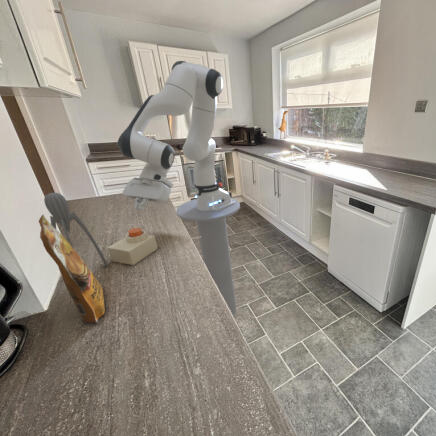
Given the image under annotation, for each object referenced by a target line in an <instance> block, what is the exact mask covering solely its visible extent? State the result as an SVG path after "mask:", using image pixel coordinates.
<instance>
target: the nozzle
mask: <svg viewBox="0 0 436 436" xmlns="http://www.w3.org/2000/svg"><path fill="white" fill-rule="evenodd" d="M142 230H143V229H142V228H141V227H133V228H131V229H128V230H127V233H129V236H130V237H137V236H140V235H142V234H143V233H142Z"/></svg>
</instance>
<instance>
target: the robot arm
mask: <svg viewBox="0 0 436 436" xmlns="http://www.w3.org/2000/svg"><path fill="white" fill-rule="evenodd" d="M170 70H171V71H170V73H169V75H168V76H167V79H166V81H165V82H164V84H163V87H162V89H161V90H160V91H159V92H158V93H155V94H150V95H149V96H148V97H147V98H146V99H145V100H144V102H143V103H142V104H141V106H140V107H139V109H138V111H137V112H136V114H135V115H134V117H133V118H132V120H131V121H130V123H129V124H128V126H127V127H126V129H124V131H122V133H121V134H120V136H119V137H118V140H117V143H116V144H117V147H118V150H119V151H120V153H121V154H122V155H123V156H124V157H127V158H129V159H133V160H138V161H141V162H144V163H146V164H145V166H144V167H143V169H142V170H141V172H140V175H139V177H137V176H136V177H134V178H132V179H130V180H129V181H128V182H127V184H126V185H125V187H124V188H123V190H122V196H124V197H126V198H127V199H132V200H134V203H135V204H134V206H133V208H134V209H135V210H138V211H144V210H145V207H146V206H148V205H149V204H150V202H156V203H162V204H165V203H166V202H168V200H169V198H170V195H171V192H172V189H173V187H174V183H173V182H172V181H171V180H170V179H167V176H168V175H167V174H168V172H169V171H170V169H171V167H172V166H173V163H174V161H175V159H176V157H175V156H176V152H175V149H174V147H173V146H171V145H170V144H169V143H167V142H163V141H160V140H158V139H154V138H151V137H149V136H147V135H144V134H143V132H144V131H145V130H146V128H147V126H148V125H149V123H150V122H151V120H152V119H153V118H155V117H158V116H172V117H177V116H178V117H179V116H183V115H186V114H187V113H188V112H189V111H190V109H191V117H190V118H191V119H190V125H189V129H188V132H187V136H186V140H185V142H184V144H183V145H182V153H183V156H184V157H185V158H186V159H187V160H189V161H191V162H194V164H193V169H192V173H193V178H194V191H195V196H194V199H197V206H196V209H197V210H200V211H219V210H221V209H224V208H226V207H228V206H231V205H233V204H235V201H234V200H233V199H234V198H233V199H231V198H232V197H233V196H232V195H233V194H232V192H230V191H227V190H225V189H223V188H222V187H223V183H222V182H217V179H216V172H215V160H216V159H215V158H216V148H217V145H216V141H215V140H214V139H213V138H212V134H213V131H214V129H215V123H216V115H217V97H218V96H219V95H220V94H221V93H222V91H223V87H224V79H223V76H222V74H221V72H220V71H217V70H216V69H214V68H210V67H207V66H205V65H203V64H199V63H193V62H187V61H185V60H176V61H175V62H174V63H173V65H172V67H171V69H170Z"/></svg>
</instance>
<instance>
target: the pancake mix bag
mask: <svg viewBox="0 0 436 436" xmlns="http://www.w3.org/2000/svg"><path fill="white" fill-rule="evenodd" d="M38 223H39V226H40V232H39V233H40V234H39V238H40V240H41V242H42V245H43V248H44V249H45V251H46V253H47V254H48V255H49V257H51V259H52V260H53V261H54V263H55V264H56V265H57V267H58V270H59V272H60V275H61V277H62V281H63V283H64V285H65V287H66V289H67V291H68V293H69V295H70V297H71V299H72V301H73V302H74V304H75V306H76V309H77V311H78V312H79V314H80V315H81V317H82V319H83V321H84V322H86V323H89V324H98V322H99V319H100V318H101V317H103V316H104V315H105V313H106V308H105V298H104V290H103V288H102V285H101V284H100V282H99V281H98V279H97V278H96V276H95V275H94V273H93V271H92V270H91V269H90V268H89V266H88V265H87V264H86V262H84V260H83V258H82V257H81V256H80V255H79V253H78V252H77V250H76V249H75V248H74V247H73V248H74V249H73V248H72V246H71V245H70V243H69V242H68V240H67V238H66V237H65V236H64V235H63V234H62V233H60V231H58V229H57V228H56V229H55V228H54V227H53V226H52V225H51V222H49V221H48V219H47V218H46V217H45V215H44V214H41V216H40V217H39V219H38Z"/></svg>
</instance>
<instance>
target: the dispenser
mask: <svg viewBox="0 0 436 436" xmlns="http://www.w3.org/2000/svg"><path fill="white" fill-rule="evenodd" d="M141 230H142V233H143V234H142V235H140V236H137V237H130V236H129V233H128V232H127V233H126V234H125V235H124V238H122V239H120V240H118V241H117V242H115V243H113V244H111V245H109V246H107V247H106V248H107V251H108V254H109V256H110V259H111V261H112V262H116V263H120V264H124V265H125V264H126V265H130V266H135V265H136V264H138V263H139V262H140V261H142V260H143V259H145V258H147V257H148V256H149V255H151V254H152V253H154V252H155V251H157V250H158V245H157V241H156V236H155V235H151V234H148V231H146V229H141Z"/></svg>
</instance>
